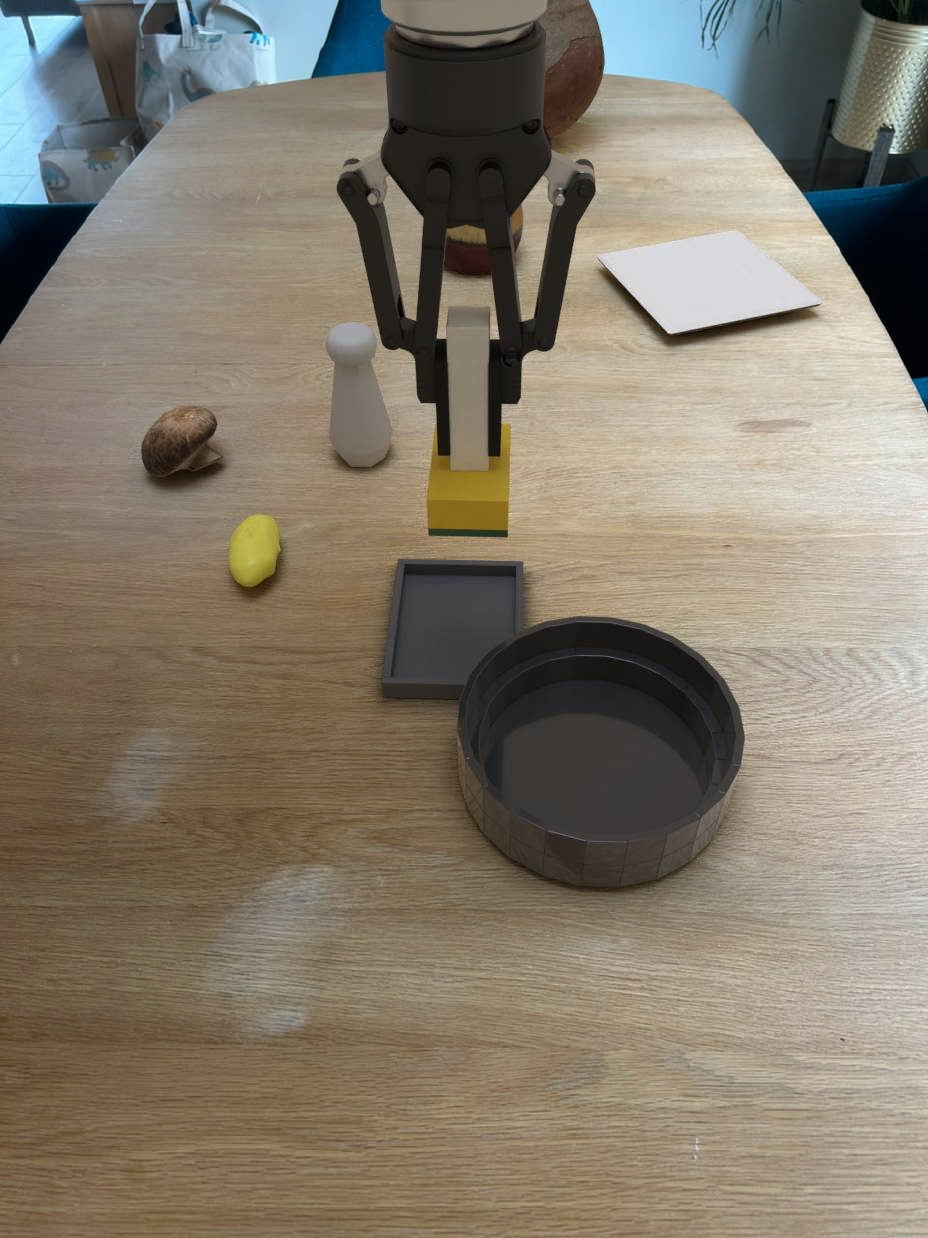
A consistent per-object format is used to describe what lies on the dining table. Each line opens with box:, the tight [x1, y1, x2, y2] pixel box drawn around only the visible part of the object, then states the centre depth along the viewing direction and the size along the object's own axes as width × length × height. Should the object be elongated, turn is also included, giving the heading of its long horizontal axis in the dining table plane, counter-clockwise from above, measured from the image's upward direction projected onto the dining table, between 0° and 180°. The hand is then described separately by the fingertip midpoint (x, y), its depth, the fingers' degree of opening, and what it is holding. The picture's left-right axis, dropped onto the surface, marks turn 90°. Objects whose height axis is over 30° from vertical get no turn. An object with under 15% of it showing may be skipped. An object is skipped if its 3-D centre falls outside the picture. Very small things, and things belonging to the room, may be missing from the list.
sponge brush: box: [426, 305, 512, 538], centre depth 61 cm, size 8×5×13 cm, turn 177°
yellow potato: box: [227, 514, 282, 588], centre depth 82 cm, size 4×8×4 cm, turn 175°
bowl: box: [456, 615, 746, 888], centre depth 66 cm, size 18×18×6 cm
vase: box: [444, 204, 524, 275], centre depth 115 cm, size 11×11×15 cm
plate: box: [596, 229, 824, 337], centre depth 113 cm, size 19×19×2 cm
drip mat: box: [381, 558, 524, 700], centre depth 77 cm, size 13×10×2 cm
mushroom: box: [140, 405, 224, 478], centre depth 91 cm, size 8×8×6 cm
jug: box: [537, 0, 606, 142], centre depth 135 cm, size 22×22×30 cm
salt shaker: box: [325, 321, 394, 468], centre depth 89 cm, size 6×6×13 cm
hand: (470, 442), depth 62 cm, fingers closed on sponge brush, 2 cm apart
